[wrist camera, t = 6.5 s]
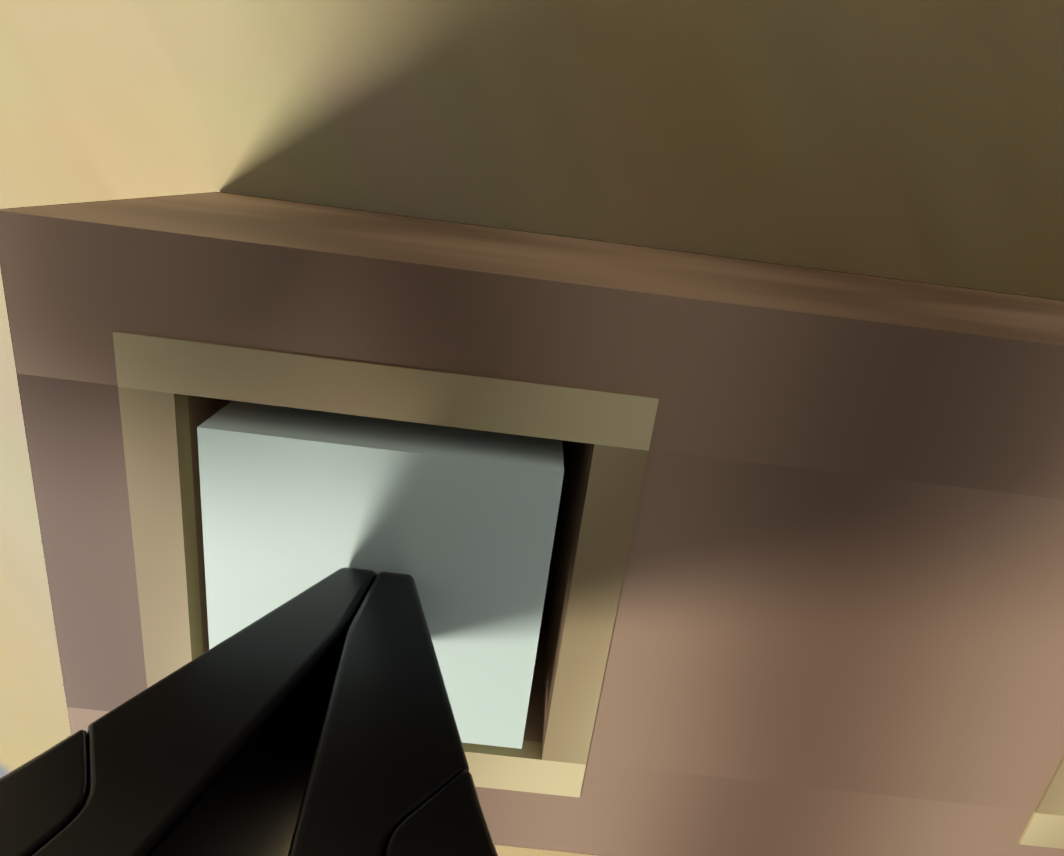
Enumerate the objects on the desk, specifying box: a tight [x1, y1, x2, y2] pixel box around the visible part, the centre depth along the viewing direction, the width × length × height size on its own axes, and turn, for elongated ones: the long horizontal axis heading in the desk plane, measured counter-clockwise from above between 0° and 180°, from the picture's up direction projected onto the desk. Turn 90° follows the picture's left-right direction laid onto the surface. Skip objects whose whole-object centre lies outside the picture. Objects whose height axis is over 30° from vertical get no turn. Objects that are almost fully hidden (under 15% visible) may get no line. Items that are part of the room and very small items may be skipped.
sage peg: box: [197, 401, 564, 749], centre depth 10 cm, size 4×4×5 cm
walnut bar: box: [0, 192, 1064, 856], centre depth 11 cm, size 20×8×5 cm, turn 83°
